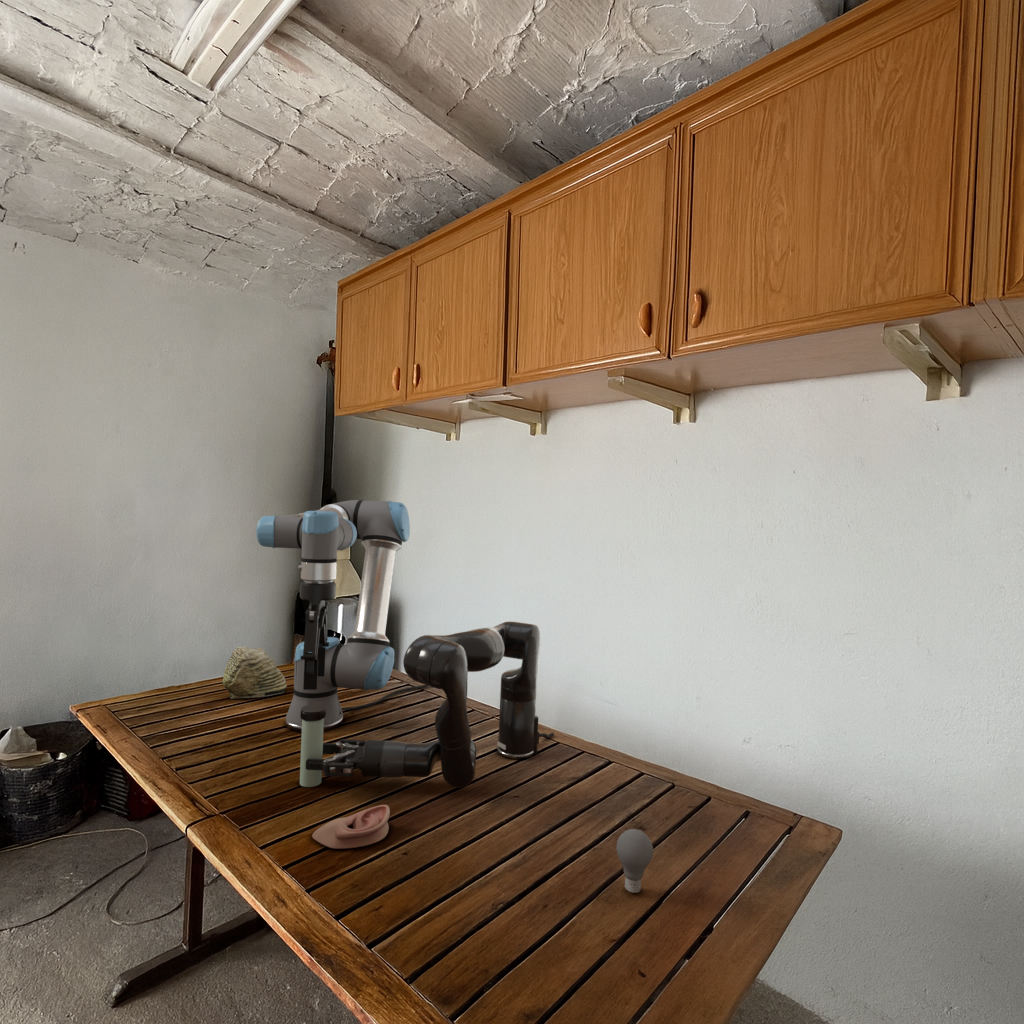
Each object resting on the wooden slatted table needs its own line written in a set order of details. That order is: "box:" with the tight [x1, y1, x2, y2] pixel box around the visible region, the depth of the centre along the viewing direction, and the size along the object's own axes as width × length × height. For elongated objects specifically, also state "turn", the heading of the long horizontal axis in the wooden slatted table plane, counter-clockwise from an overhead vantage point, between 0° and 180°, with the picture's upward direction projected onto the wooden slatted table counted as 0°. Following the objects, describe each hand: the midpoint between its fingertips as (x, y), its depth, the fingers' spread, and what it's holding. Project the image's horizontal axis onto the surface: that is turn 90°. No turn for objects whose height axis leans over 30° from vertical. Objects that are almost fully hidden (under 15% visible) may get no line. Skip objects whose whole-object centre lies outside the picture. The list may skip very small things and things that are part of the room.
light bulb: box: [615, 828, 654, 894], centre depth 106 cm, size 6×6×10 cm
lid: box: [300, 705, 326, 721], centre depth 140 cm, size 5×5×2 cm
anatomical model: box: [311, 804, 391, 850], centre depth 119 cm, size 13×4×12 cm
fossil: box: [222, 646, 288, 699], centre depth 198 cm, size 9×18×15 cm, turn 132°
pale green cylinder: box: [299, 718, 324, 788], centre depth 140 cm, size 5×5×16 cm
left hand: (314, 682), depth 140 cm, fingers open, 9 cm apart
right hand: (312, 756), depth 140 cm, fingers open, 8 cm apart
